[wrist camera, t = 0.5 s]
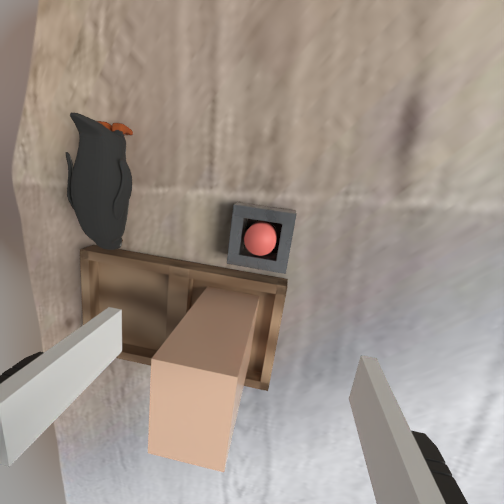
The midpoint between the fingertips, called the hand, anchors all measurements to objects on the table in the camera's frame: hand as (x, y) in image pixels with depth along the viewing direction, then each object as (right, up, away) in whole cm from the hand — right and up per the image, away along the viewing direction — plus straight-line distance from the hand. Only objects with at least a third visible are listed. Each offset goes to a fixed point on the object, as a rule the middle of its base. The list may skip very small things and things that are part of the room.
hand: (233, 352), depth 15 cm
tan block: (-2, -4, +22) cm, 23 cm away
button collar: (+2, +8, +19) cm, 21 cm away
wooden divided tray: (-9, -3, +23) cm, 25 cm away
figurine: (-16, +14, +20) cm, 29 cm away
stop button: (+2, +8, +19) cm, 20 cm away
